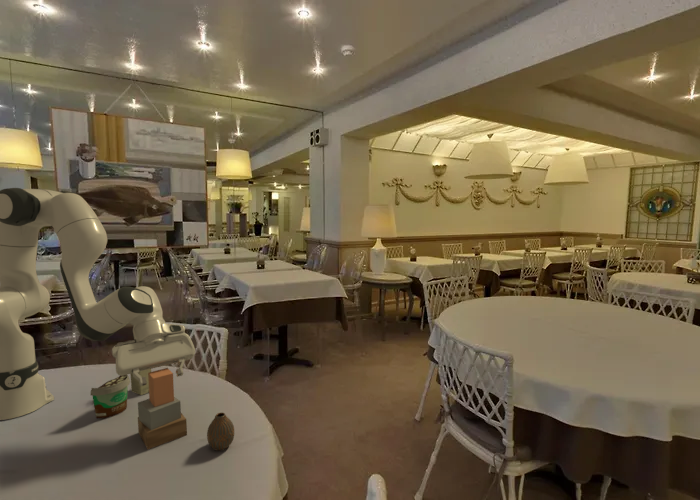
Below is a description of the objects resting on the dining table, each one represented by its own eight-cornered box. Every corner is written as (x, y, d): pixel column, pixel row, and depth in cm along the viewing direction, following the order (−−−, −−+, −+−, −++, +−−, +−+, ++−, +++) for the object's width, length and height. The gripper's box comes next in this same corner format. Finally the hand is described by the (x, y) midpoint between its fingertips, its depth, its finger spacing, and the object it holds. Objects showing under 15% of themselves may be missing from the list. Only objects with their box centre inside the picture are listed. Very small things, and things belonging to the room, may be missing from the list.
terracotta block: (149, 400, 106) (148, 372, 105) (168, 394, 110) (167, 367, 109) (154, 407, 102) (153, 378, 102) (174, 400, 106) (173, 373, 105)
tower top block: (138, 419, 105) (137, 402, 105) (167, 408, 111) (167, 392, 111) (151, 430, 100) (150, 412, 100) (181, 417, 106) (180, 400, 106)
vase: (219, 457, 97) (218, 424, 96) (201, 448, 100) (200, 416, 99) (240, 443, 102) (239, 412, 102) (223, 435, 106) (222, 405, 105)
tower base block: (138, 433, 107) (137, 417, 107) (175, 421, 114) (175, 405, 113) (147, 450, 100) (146, 432, 99) (187, 436, 106) (186, 419, 106)
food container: (109, 423, 112) (107, 390, 111) (91, 420, 113) (89, 388, 112) (140, 402, 124) (138, 373, 123) (124, 400, 125) (122, 371, 124)
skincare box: (153, 391, 132) (151, 357, 131) (140, 396, 128) (138, 361, 127) (143, 386, 135) (141, 353, 134) (130, 391, 132) (128, 357, 131)
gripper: (111, 338, 103) (120, 386, 96) (189, 324, 116) (201, 365, 110) (109, 350, 107) (117, 396, 100) (185, 335, 120) (197, 375, 113)
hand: (162, 379), depth 105 cm, fingers open, 8 cm apart
